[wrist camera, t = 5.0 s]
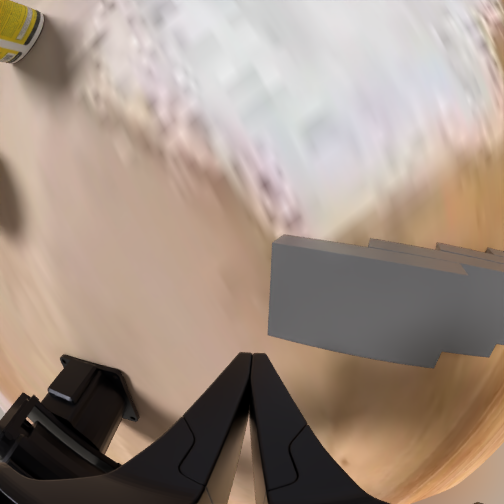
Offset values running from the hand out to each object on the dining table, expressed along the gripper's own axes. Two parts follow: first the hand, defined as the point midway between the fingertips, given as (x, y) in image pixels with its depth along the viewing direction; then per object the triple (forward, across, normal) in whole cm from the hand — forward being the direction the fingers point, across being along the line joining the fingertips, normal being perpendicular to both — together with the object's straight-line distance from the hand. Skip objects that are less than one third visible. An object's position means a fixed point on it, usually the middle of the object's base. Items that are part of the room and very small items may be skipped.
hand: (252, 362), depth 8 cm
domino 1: (+6, -1, 0) cm, 6 cm away
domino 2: (+6, -5, 0) cm, 8 cm away
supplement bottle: (+7, +18, -18) cm, 27 cm away
